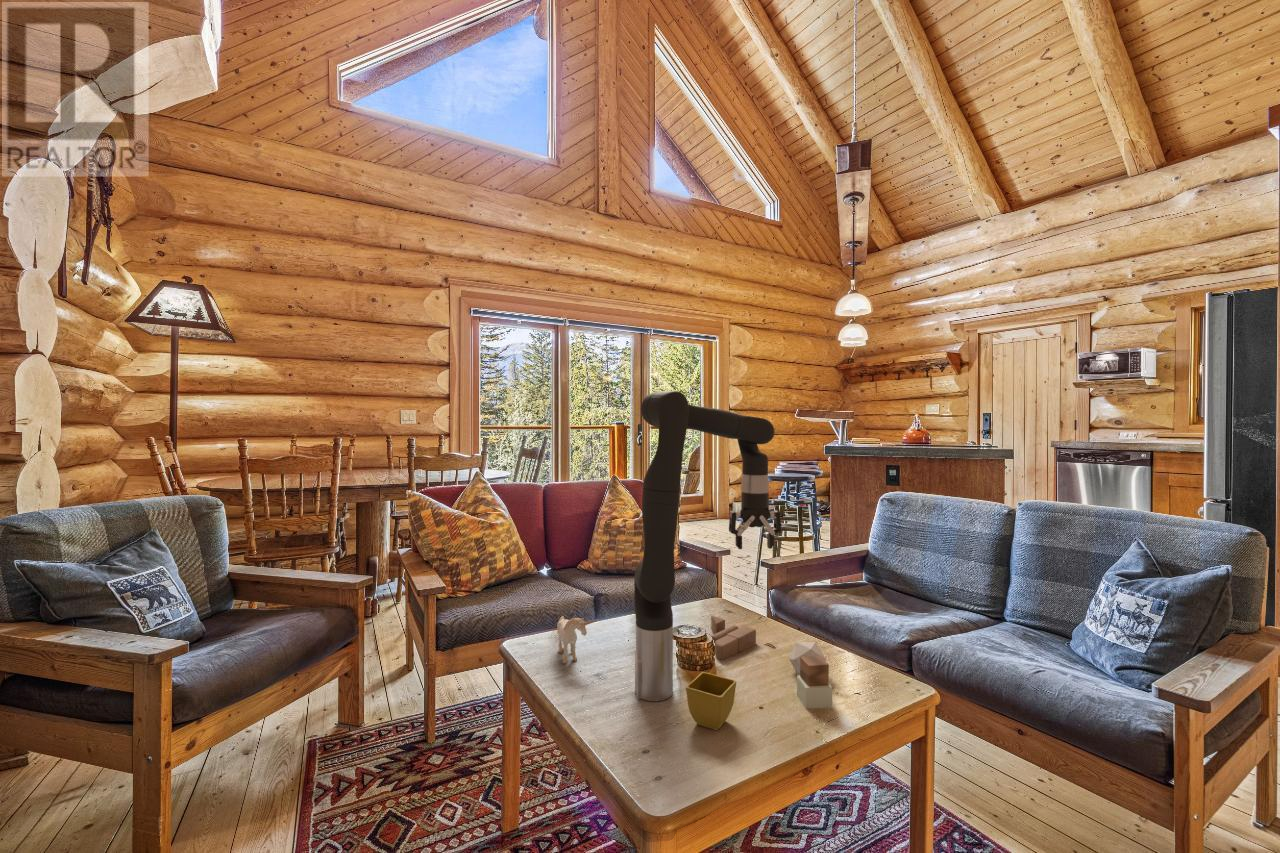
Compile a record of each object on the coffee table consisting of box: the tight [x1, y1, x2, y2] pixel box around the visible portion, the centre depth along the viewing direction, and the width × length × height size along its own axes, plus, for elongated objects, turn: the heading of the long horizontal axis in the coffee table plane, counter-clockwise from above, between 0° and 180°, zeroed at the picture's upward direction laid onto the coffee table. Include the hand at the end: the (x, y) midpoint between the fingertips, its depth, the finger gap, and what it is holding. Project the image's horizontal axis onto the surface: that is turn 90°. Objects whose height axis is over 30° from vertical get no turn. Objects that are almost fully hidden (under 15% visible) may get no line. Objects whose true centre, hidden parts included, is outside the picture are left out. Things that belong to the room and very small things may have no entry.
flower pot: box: [685, 671, 737, 731], centre depth 127 cm, size 9×9×9 cm
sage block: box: [796, 674, 833, 709], centre depth 137 cm, size 6×6×5 cm
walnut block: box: [800, 656, 830, 687], centre depth 137 cm, size 5×5×5 cm
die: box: [788, 641, 827, 675], centre depth 151 cm, size 8×9×10 cm
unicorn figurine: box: [556, 615, 599, 664], centre depth 161 cm, size 7×20×13 cm, turn 36°
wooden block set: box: [710, 615, 757, 661], centre depth 172 cm, size 17×6×18 cm
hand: (754, 548), depth 157 cm, fingers open, 8 cm apart
